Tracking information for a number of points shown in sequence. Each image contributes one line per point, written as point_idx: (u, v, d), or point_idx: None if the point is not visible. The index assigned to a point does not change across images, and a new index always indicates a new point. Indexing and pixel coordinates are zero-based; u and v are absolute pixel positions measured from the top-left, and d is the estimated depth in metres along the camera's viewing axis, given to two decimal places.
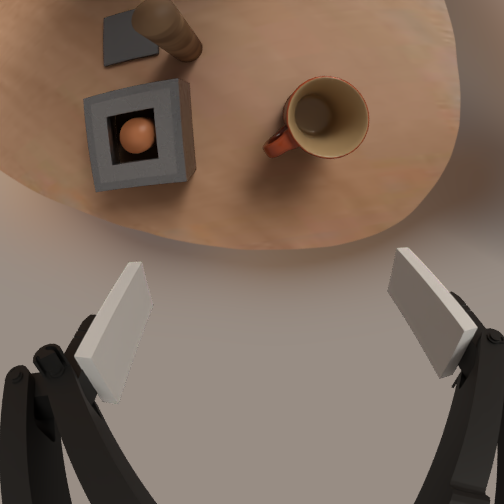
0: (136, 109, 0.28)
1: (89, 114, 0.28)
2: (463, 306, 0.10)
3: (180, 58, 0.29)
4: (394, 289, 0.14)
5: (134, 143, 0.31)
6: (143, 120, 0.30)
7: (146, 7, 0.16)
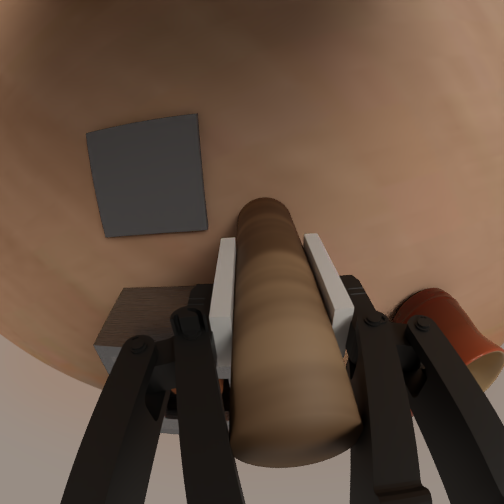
0: None
1: (112, 367, 0.18)
2: (358, 289, 0.12)
3: None
4: None
5: None
6: None
7: (277, 433, 0.06)
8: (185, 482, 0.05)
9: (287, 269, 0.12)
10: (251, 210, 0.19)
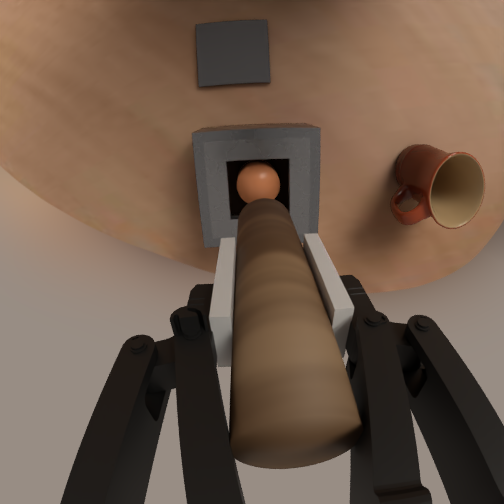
0: (267, 157, 0.27)
1: (201, 154, 0.27)
2: (358, 289, 0.12)
3: None
4: None
5: (255, 194, 0.30)
6: (269, 168, 0.29)
7: (277, 434, 0.06)
8: (185, 482, 0.05)
9: (287, 271, 0.12)
10: (251, 211, 0.19)
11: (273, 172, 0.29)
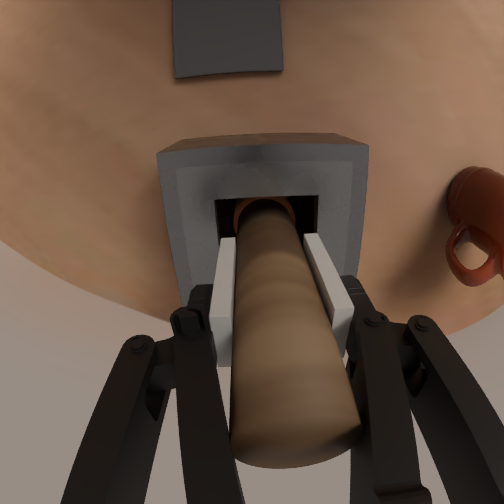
0: (283, 193, 0.17)
1: (172, 189, 0.16)
2: (358, 289, 0.12)
3: None
4: None
5: None
6: (280, 199, 0.20)
7: (277, 434, 0.06)
8: (185, 482, 0.05)
9: (287, 271, 0.12)
10: (251, 211, 0.19)
11: (286, 204, 0.20)
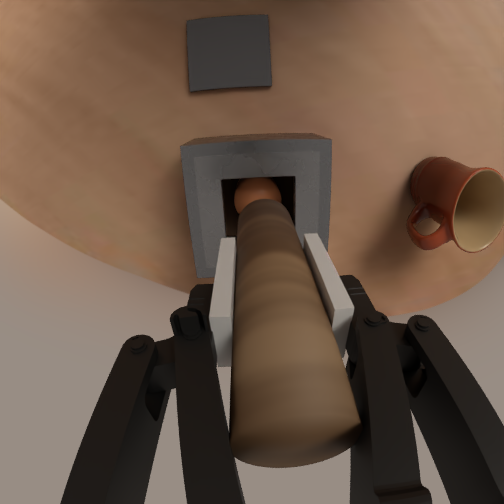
0: (269, 174, 0.23)
1: (191, 171, 0.23)
2: (358, 289, 0.12)
3: None
4: None
5: None
6: (269, 182, 0.27)
7: (277, 433, 0.06)
8: (185, 482, 0.05)
9: (287, 271, 0.12)
10: (251, 211, 0.19)
11: (274, 186, 0.27)
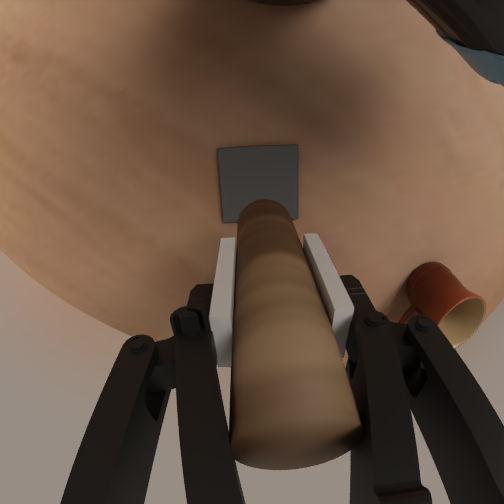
0: None
1: None
2: (358, 289, 0.12)
3: None
4: None
5: None
6: None
7: (277, 436, 0.06)
8: (185, 482, 0.05)
9: (287, 272, 0.12)
10: (251, 212, 0.19)
11: None
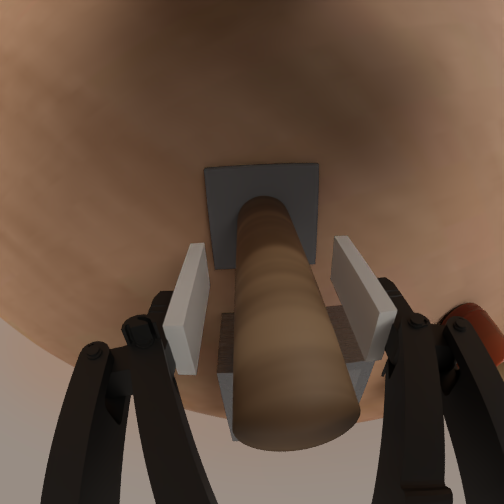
0: None
1: (229, 389, 0.21)
2: (394, 291, 0.12)
3: None
4: (334, 276, 0.16)
5: None
6: None
7: (279, 412, 0.07)
8: (153, 490, 0.05)
9: (286, 262, 0.12)
10: (250, 208, 0.19)
11: None
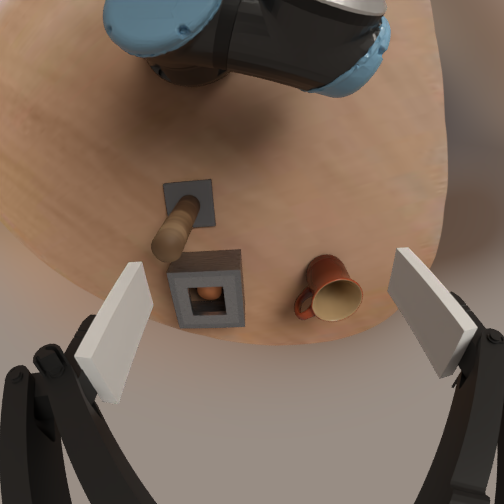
0: (210, 286, 0.48)
1: (173, 284, 0.48)
2: (463, 306, 0.10)
3: None
4: (394, 289, 0.14)
5: (208, 294, 0.53)
6: None
7: (160, 240, 0.33)
8: None
9: (178, 214, 0.39)
10: (180, 199, 0.46)
11: None
